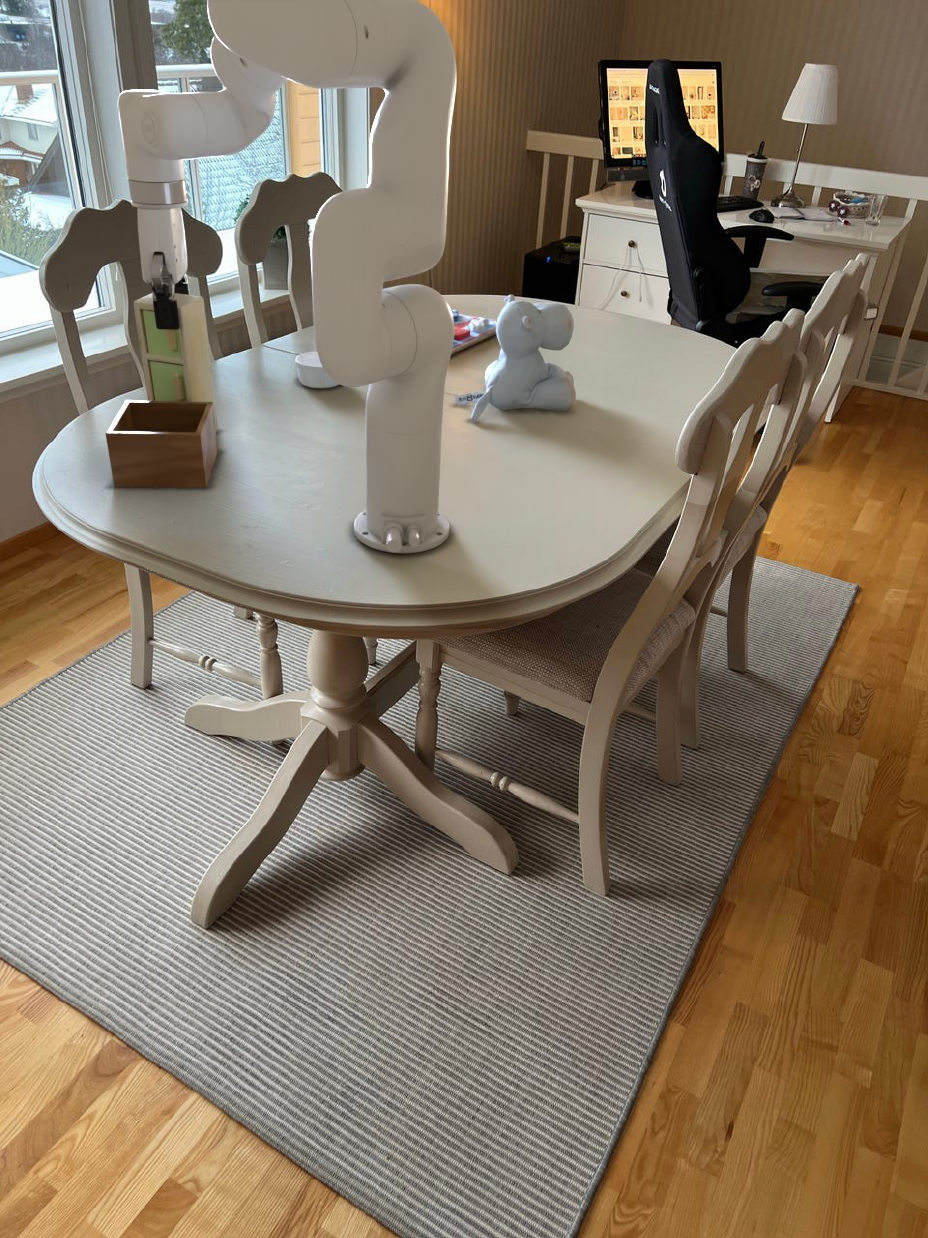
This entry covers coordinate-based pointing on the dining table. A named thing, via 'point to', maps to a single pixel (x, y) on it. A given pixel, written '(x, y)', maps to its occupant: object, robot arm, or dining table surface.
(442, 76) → the robot arm
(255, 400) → the dining table surface
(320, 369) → the ramekin
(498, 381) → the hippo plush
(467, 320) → the puzzle board
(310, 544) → the dining table surface
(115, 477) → the open wooden box
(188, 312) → the toy refrigerator
